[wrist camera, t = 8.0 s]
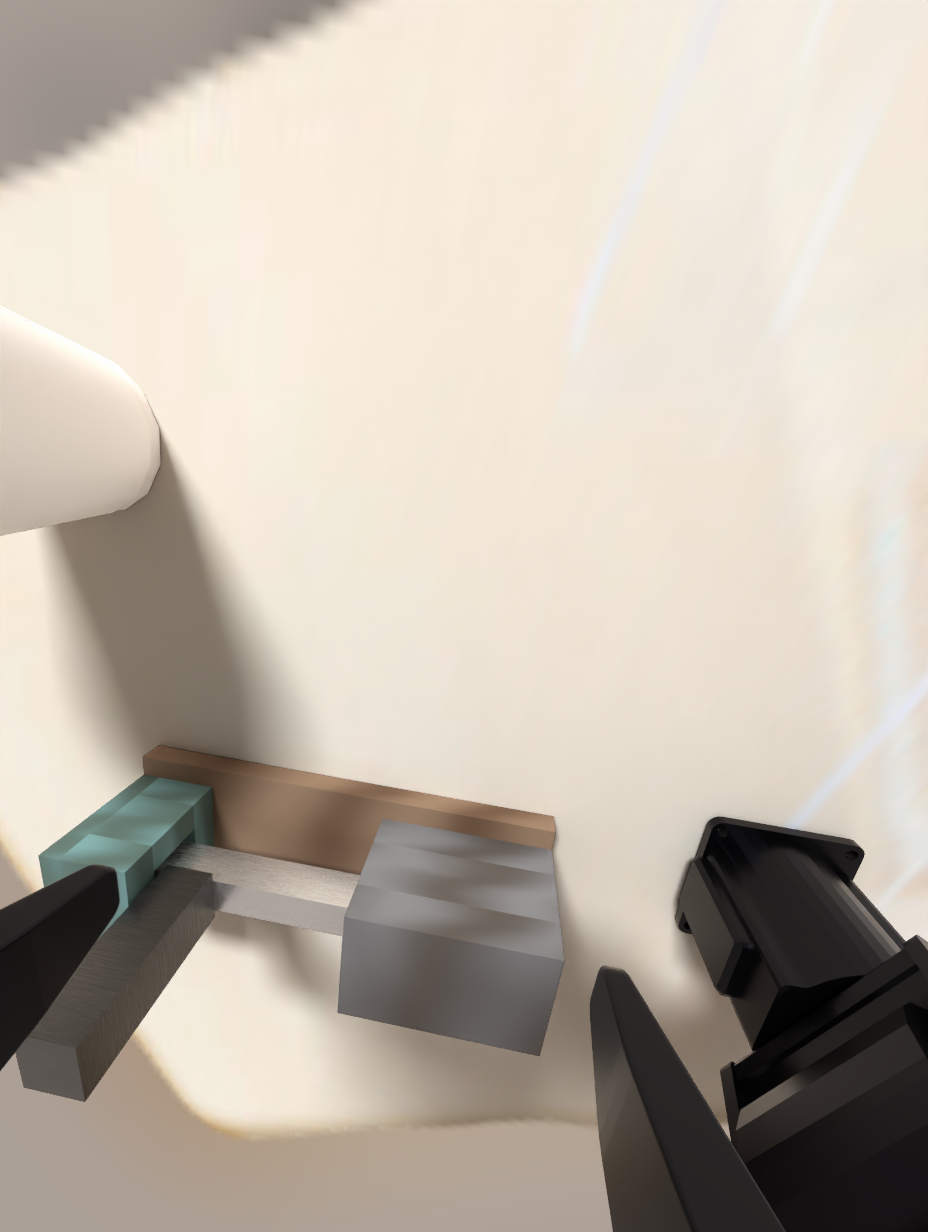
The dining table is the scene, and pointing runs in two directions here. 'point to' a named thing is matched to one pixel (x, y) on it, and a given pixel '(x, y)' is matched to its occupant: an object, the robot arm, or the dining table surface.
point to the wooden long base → (366, 883)
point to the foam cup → (68, 431)
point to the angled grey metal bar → (166, 953)
